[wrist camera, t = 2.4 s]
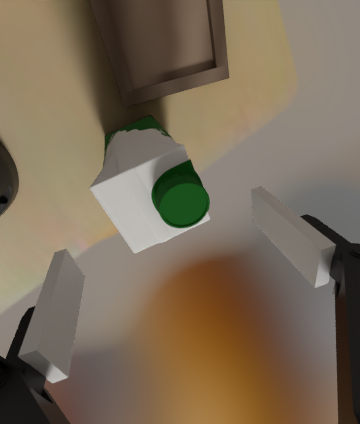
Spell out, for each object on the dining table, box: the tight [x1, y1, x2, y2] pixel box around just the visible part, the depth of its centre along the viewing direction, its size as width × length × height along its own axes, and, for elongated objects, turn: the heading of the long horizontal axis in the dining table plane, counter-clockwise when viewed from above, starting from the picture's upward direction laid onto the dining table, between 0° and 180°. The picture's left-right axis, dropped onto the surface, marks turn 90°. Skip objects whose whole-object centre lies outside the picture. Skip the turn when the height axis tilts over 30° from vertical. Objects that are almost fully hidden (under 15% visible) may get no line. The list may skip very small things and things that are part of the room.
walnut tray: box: [90, 0, 229, 107], centre depth 26 cm, size 14×14×2 cm
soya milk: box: [90, 115, 210, 253], centre depth 26 cm, size 9×9×20 cm
